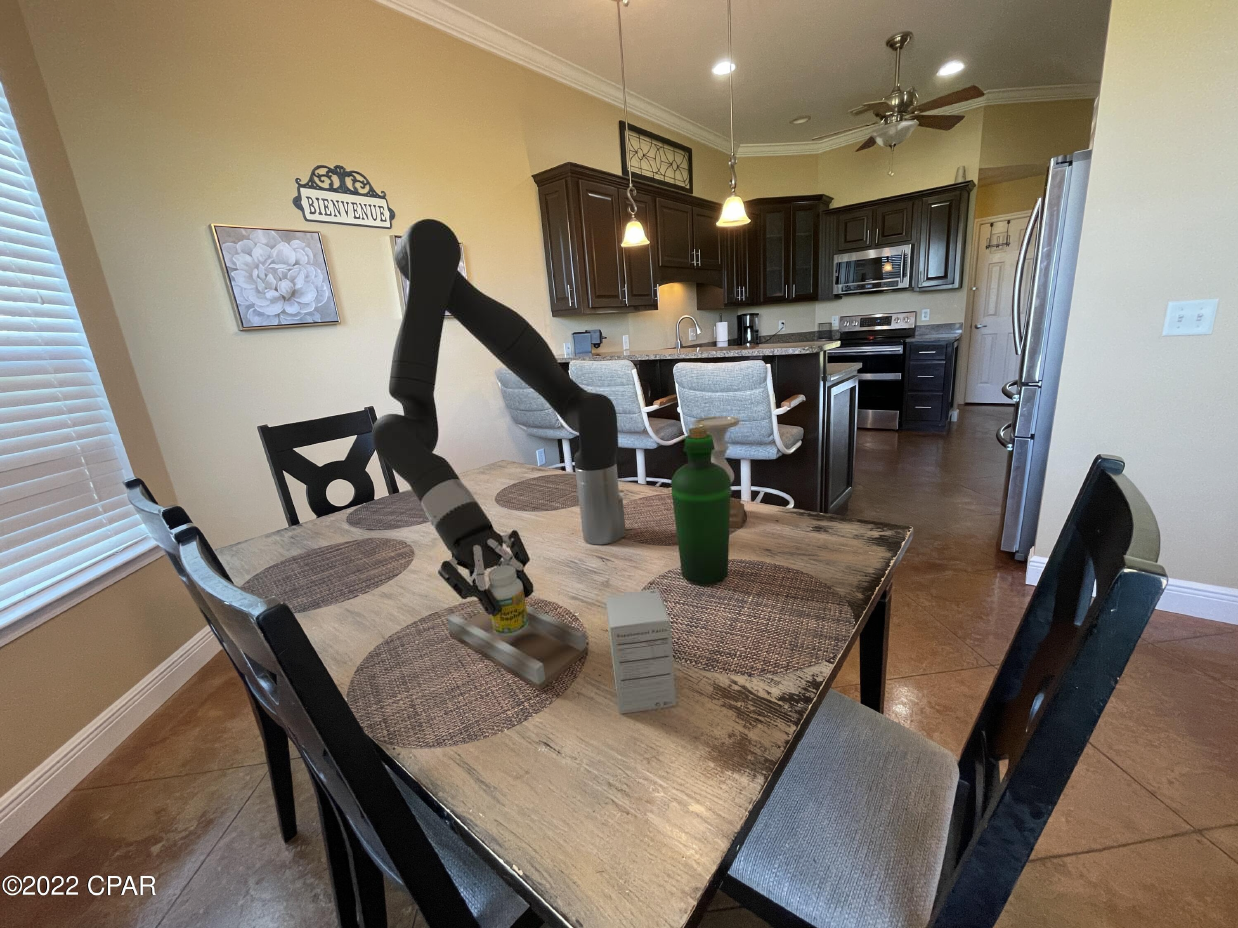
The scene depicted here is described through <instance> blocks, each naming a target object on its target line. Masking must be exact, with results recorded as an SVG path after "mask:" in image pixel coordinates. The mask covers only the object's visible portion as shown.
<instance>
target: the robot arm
mask: <svg viewBox="0 0 1238 928" xmlns="http://www.w3.org/2000/svg"><path fill="white" fill-rule="evenodd" d="M458 239H459V238H458V237H457V235H456V234H455V232H454V231H453V230H452V229H451V228H450V227H449V225H446V223H444V222H442V221H440V220H438V219H434V218H433V219H432V218H423V219H420V220H418V221H416V222H415V223H413V224H411V225H410V226H409V227H408V228H407V229H406V231H405V232H404V234H403V235H402V236H401V238H399V240H398V241H397V243H396V245H395V248H394V255H393V256H394V261H395V265H396V266H397V267H396V268H397V270H398V271H399V273H401V275H402V276H403V277H404V278H405V280H407V282H408V290H407V297H406V298H407V299H406V302H405V303H406V304H405V307H404V312H403V316H402V318H401V319H402V320H401V323H400V325H399V329H398V333H397V336H396V340H395V344H394V347H393V353H392V360H391V366H390V374H389V381H388V382H389V383H388V394H389V395H390V397H392V399H394V400H396V401H397V402H398V403H400V405H401V406H402V410H403V414H399V413H388V414H384V415H382V416H380V417H379V418H378V419H377V420H376V421H375V422H374V423H373V426H372V429H371V441H372V445H373V446H374V449H375V451H376V453H377V454H378V455H379V457H380V458H381V459H382V460H383V461H384V462H385V463H386V464H387V465H388V466H389V467H390V468H391V469H392V470H393V471H394V472H395V473H396V474H397V475H398V476H399V477H400V478H402V480H404V481H405V482H406V483H407V484H408V485H409V487H410V489H411V490H412V492H413V494H415V496H416V498H417V500H418V502H419V503H420V504H421V506H422V508H423V510H424V513H425V514H426V515H425V516H426V517H427V518H428V520H429V523H430V525H431V526H432V527H433V529H434V530H435V532H436V533H437V535H438V536H439V538H440V539H441V541H442V543H443V544H444V546H445V547H446V549H447V550H448V551H449V552H450V553H451V559H449V560H444V561H442V562H441V565H440V567H439V568H438V571H437V573H438V575H439V576H440V577H441V578H442V580H444V582H446V584H447V585H448V586H449V587H450V588H451V589H452V590H453V591H454V592H455V593H456V594H457V595H458V597H459V598H461V599H462V600H467V599H468V598H476V599H477V600H478V602H479V603H480V605H481V606H482V608H483V610H485V611H486V613H487V614H489V615H491V614H492V616H493V617H495V616H497V615H498V614H499V613H500V612H501V611H502V608H501V606H500V605H499V603H498V602H497V600H496V599H495V597H494V596H493V594H492V592H491V591H490V589H487V584H486V578H485V573H486V571H487V569H494V567H495V568H496V567H499V566H504V565H509V566H513V567H514V568H515V570H516V575H517V576H516V578H518V579H519V580H520V581H521V582H522V584H523V590H524V596H525V599H527V598H528V597H531V595H533V593H534V583H533V582H532V581H531V579H530V577H529V576H528V574H527V573H526V572H525V567H526V565H528V563H529V562H530V559H531V558H530V556H529V553H528V551H527V549H526V546H525V545H524V543H523V541H522V538H521V536H520V533H519V532H518V530H516V529H513V530H512V531H511V532H510V533H507V534H503V535H501V534H500V532H497V531H496V530H495V529H494V526H493V524H492V521H491V519H490V518H489V517H488V516H487V514H486V513H485V511H484V510H483V508H482V506H481V505H480V503H479V502H478V500H477V499H476V498H475V496H474V495H473V493H472V492H471V490H470V489H469V488H468V487H467V486H466V485H465V484H464V483H463V481H462V480H461V479H460V476H458V474H457V473H456V471H455V469H454V468H453V467H452V465H451V464H450V462H449V461H448V460H447V459H446V458H444V457H443V456H441V455H439V454H436V453H434V451H435V449H436V448H437V444H438V441H439V421H438V415H437V405H436V402H435V388H436V387H435V386H436V383H437V382H436V380H437V373H438V363H439V355H440V349H441V347H440V346H441V341H442V334H443V328H444V322H445V317H446V312H447V313H448V314H449V315H451V316H452V317H453V318H454V319H455V320H456V321H458V323H459V324H460V325H461V326H463V328H464V329H466V331H468V332H469V334H471V335H472V336H473V337H474V338H475V339H476V340H477V341H479V342H480V343H481V344H482V345H483V346H484V347H485V349H486V350H488V351H489V352H490V353H491V354H492V356H493V357H495V358H496V359H497V360H498V361H499V362H500V363H501V364H502V365H504V366H505V368H507V369H508V370H509V371H510V372H511V373H513V374H514V375H515V377H517V378H519V380H521V381H522V382H523V383H524V384H526V385H527V386H528V387H529V388H530V389H532V390H533V391H534V392H536V393H537V394H538V395H539V396H541V398H543V400H544V401H545V402H546V403H547V404H548V405H549V406H550V408H552V409H553V410H554V412H556V414H557V415H558V416H559V418H561V420H562V421H563V422H564V423H565V424H566V425H567V427H569V428H570V429H571V430H572V431H574V432H576V433H578V441H579V451H576V453H575V454H574V457H573V462H574V470H575V477H576V485H577V495H578V496H577V497H578V503H579V513H580V521H581V522H580V523H581V529H582V537H583V540H584V541H585V542H586V543H588V544H590V545H591V544H592V545H607V544H611V543H614V542H618V541H619V540H620V539H622V538H624V537H626V536H627V531H626V530H627V529H626V521H625V520H626V519H625V511H624V509H625V508H624V500H623V499H624V498H623V496H621V495H620V488H619V478H618V477H619V476H618V467H617V455H618V454H617V453H618V451H619V432H618V431H619V430H618V429H619V428H618V417H617V410H616V407H615V404H614V402H613V401H612V399H610V397H608V396H607V395H605V394H603V393H599V392H598V393H597V392H589V391H587V390H585V389H584V388H583V387H582V386H580V385H579V384H578V383H577V382H575V380H573V378H572V377H570V376H569V375H568V374H567V373H566V372H565V370H563V368H562V367H561V365H560V363H559V362H558V359H557V357H556V356H555V354H554V352H553V350H552V349H551V347H550V345H549V344H548V342H547V341H546V340H545V339H544V337H543V336H542V335H541V334H540V333H539V332H538V331H537V330H536V328H535V327H533V325H532V324H531V323H530V322H529V321H528V320H526V318H524V316H522V315H521V314H520V313H518V312H517V311H515V310H514V309H512V308H510V307H509V306H507V305H505V304H503V303H501V302H499V301H497V300H496V299H494V298H493V297H490V296H488V295H487V294H485V293H484V292H482V291H481V290H479V289H478V288H477V287H476V286H474V285H473V284H472V283H471V282H470V281H469V280H468V279H467V278H466V277H465V276H464V275H463V274H462V272H461V271H459V270H458V269H459V266H460V262H461V259H462V250H461V249H462V247H461V245H460V242H459V240H458ZM504 545H505V546H506V548H507V549H509V550H510V551H509V550H507V549H505V548H504ZM510 552H511V553H510ZM502 559H503V560H502ZM459 567H460V568H463V569H465V570H467V573H468V579H466V578H465V576H464V575H463V574H461V572H460V571H459Z"/></svg>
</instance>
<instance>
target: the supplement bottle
mask: <svg viewBox="0 0 1238 928" xmlns="http://www.w3.org/2000/svg"><path fill="white" fill-rule="evenodd" d="M487 576H488V582H489V585H488V587H486V589H490V591H491V592H492V594H493V596H494V597H495V599H496V600H497V602H498V603H499V605H500V606H501V608H502V611H501V612H500V613H499V614H498V615H497V616H495V617H493V616H492V614H491V618H492V624H493V629H494V632H495V633H496V634H497V635H499V636H503V637H508V636H514V635H517V634H519V633H521V632H522V631H523V630H524V629H525V628H526V627H527V625H528V614H527V608H526V606H527V602H526V598H525V596H524V590H523V584H522V582H521V581H520V580H519V579H518V578H516V576H517V575H516V570H515V568H514V567H513V566H509V565H504V566H499V567H496V566H495V568H494V567H493V568H491V570H489V572H488V574H487Z"/></svg>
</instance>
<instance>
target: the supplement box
mask: <svg viewBox="0 0 1238 928" xmlns="http://www.w3.org/2000/svg"><path fill="white" fill-rule="evenodd" d="M605 606H606V618H607V625H608V633H609V634H608V636H609V642H610V643H609V644H610V652H611V653H610V654H611V661H612V668H613V676H614V682H615V691H616V695H617V704H618V705H617V706H618V713H619V714H622V715H624V714H632V713H638V712H643V711H644V712H645V711H651V710H659V709H665V708H672V707H675V706H676V705H677V698H676V697H677V696H676V685H675V671H674V670H675V669H674V667H675V666H674V656H673V653H674V652H673V642H672V641H673V640H672V626H671V619H670V616H669V613H668V610H667V607H666V603H665V601H664V599H663V596H662V593H661V589H660V588H655V589H653V588H651V589H644V590H638V591H631V592H628V591H627V592H621V593H615V594H607V595H606V596H605Z"/></svg>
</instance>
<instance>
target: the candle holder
mask: <svg viewBox="0 0 1238 928" xmlns="http://www.w3.org/2000/svg"><path fill="white" fill-rule="evenodd" d="M739 419H740V418H737V417H733V416H709V417H703V418H698V419H695V421H693V425H694V428H695V427H706V428H708V430H707V434H710V435H712V438H713V442H714V446H715V450H713V451H712V454H711V462H713V463H715V464H717V465H718V466H720V467H722V468H724V469H725V471H726V472H727V473H728V475H729V476H730V480H731V484H733V481H734V480H735V473H734V471H733V469H732V467H731V466H730V464H729V463H728V461H727V460H726V453H727V452H728V450H730V449H729V447H730V446H729V445H728V444H727V442H726V440H725V439H726V438H725V437H726V435H727V433H728V432H729V430H730V428H734V427H737V426H738V425H739V424H740V420H739ZM732 493H733V489H732V488H731V491H730V522H729V529H740V528H741V527H743V521H744V517H745V503H742V502H741V501H742V500H741V499H740V498H733V497H731V495H732Z"/></svg>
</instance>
